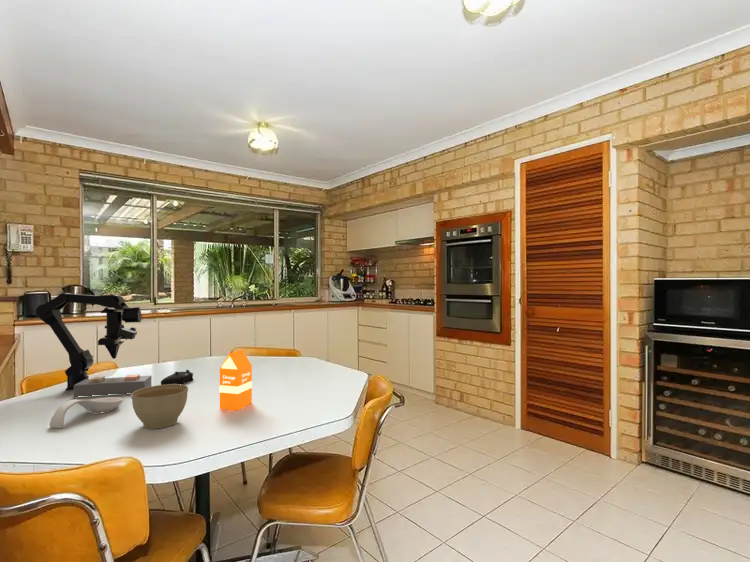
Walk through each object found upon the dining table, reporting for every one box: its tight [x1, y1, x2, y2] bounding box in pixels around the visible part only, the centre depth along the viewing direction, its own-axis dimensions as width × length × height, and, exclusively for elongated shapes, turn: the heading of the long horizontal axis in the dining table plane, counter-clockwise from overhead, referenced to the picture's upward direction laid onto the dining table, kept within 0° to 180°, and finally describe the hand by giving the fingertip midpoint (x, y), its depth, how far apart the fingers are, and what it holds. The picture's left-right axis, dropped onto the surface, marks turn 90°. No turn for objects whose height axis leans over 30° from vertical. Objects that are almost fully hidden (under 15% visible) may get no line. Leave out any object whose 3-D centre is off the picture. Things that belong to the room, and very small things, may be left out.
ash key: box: [88, 376, 106, 383], centre depth 163 cm, size 4×4×4 cm
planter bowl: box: [130, 384, 189, 430], centre depth 128 cm, size 16×16×11 cm
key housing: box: [73, 375, 152, 398], centre depth 165 cm, size 25×10×5 cm, turn 105°
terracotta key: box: [123, 374, 141, 381], centre depth 167 cm, size 4×4×4 cm
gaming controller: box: [160, 369, 194, 385], centre depth 182 cm, size 14×6×10 cm
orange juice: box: [219, 349, 253, 411], centre depth 146 cm, size 8×9×20 cm
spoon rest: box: [49, 396, 123, 429], centre depth 136 cm, size 24×12×7 cm, turn 172°
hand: (114, 358), depth 176 cm, fingers closed
